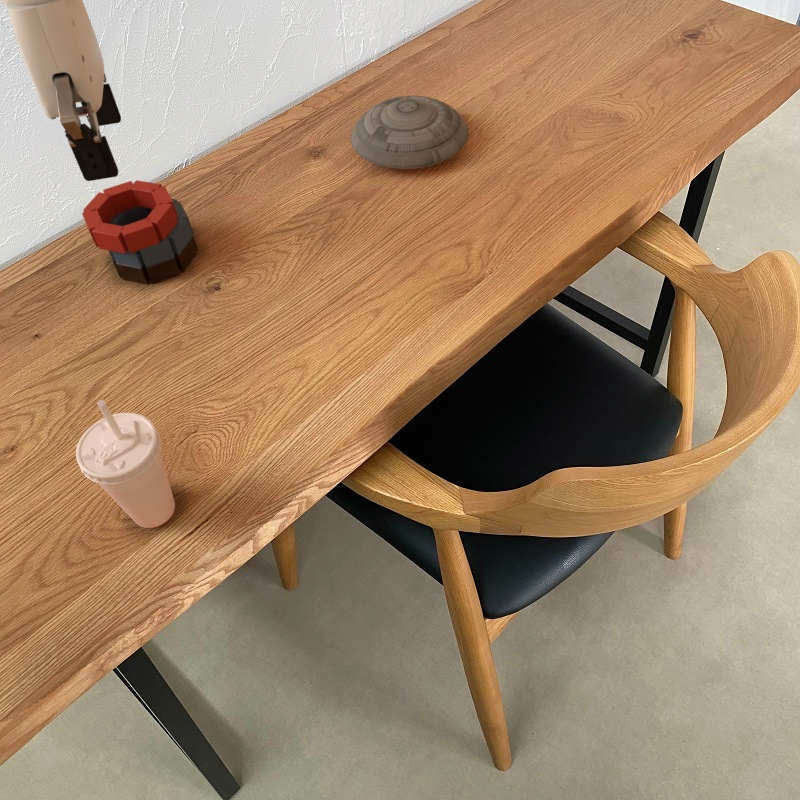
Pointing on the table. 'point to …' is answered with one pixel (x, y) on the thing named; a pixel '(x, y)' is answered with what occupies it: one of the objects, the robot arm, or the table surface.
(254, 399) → the table surface
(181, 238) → the ring middle
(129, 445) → the smoothie
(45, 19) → the robot arm
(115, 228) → the ring top
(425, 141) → the flying saucer
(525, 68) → the table surface
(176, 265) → the ring bottom
